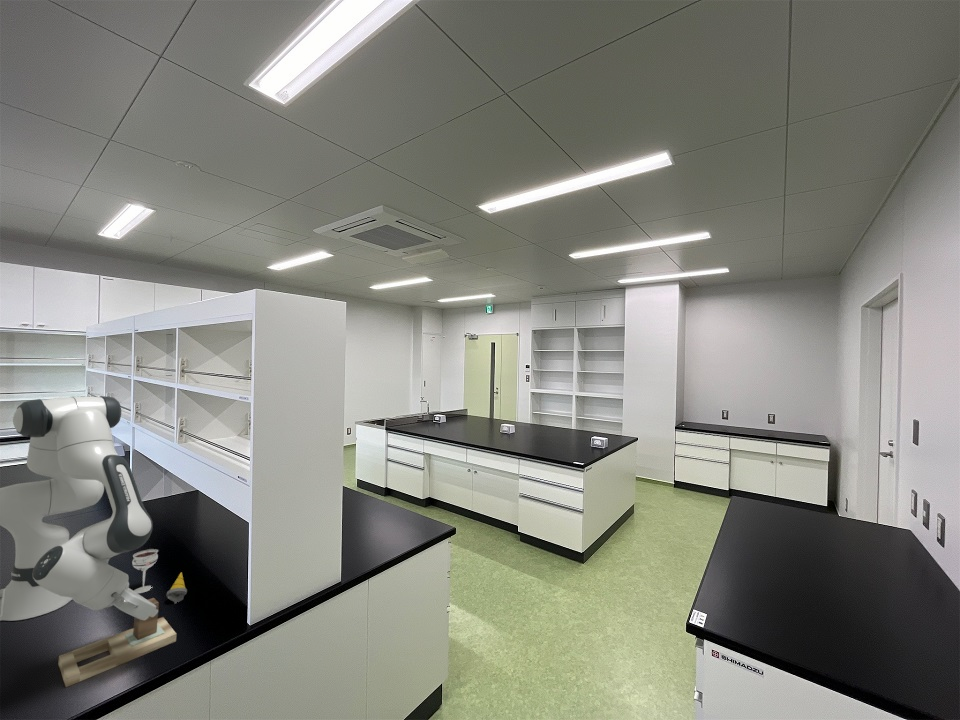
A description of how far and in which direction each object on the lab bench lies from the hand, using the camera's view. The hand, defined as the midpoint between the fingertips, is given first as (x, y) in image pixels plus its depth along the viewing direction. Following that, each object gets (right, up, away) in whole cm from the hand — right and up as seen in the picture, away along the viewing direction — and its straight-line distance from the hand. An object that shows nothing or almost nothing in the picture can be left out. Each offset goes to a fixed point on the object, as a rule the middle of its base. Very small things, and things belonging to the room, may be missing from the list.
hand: (149, 609), depth 108 cm
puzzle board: (-3, -8, -5) cm, 10 cm away
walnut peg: (0, -6, -1) cm, 6 cm away
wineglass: (-23, -9, +25) cm, 35 cm away
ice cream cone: (-8, -10, +20) cm, 24 cm away
